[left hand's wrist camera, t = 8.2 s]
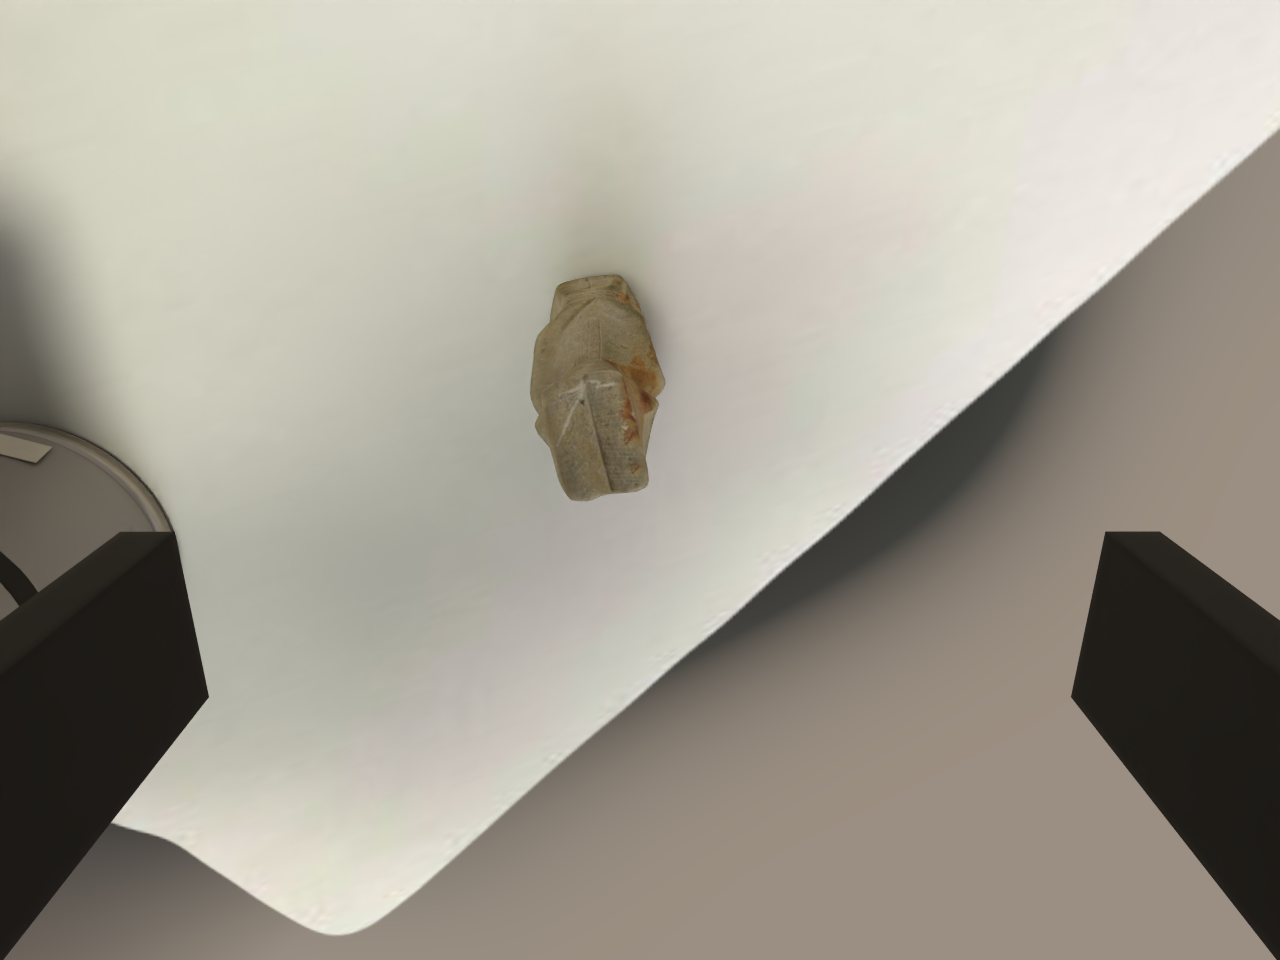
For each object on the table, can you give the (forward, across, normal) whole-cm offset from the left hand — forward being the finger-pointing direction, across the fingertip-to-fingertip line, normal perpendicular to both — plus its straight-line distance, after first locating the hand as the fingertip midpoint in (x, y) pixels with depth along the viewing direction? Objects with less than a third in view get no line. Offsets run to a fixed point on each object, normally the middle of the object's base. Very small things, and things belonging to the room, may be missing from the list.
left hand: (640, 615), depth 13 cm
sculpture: (+35, +2, +3) cm, 35 cm away
